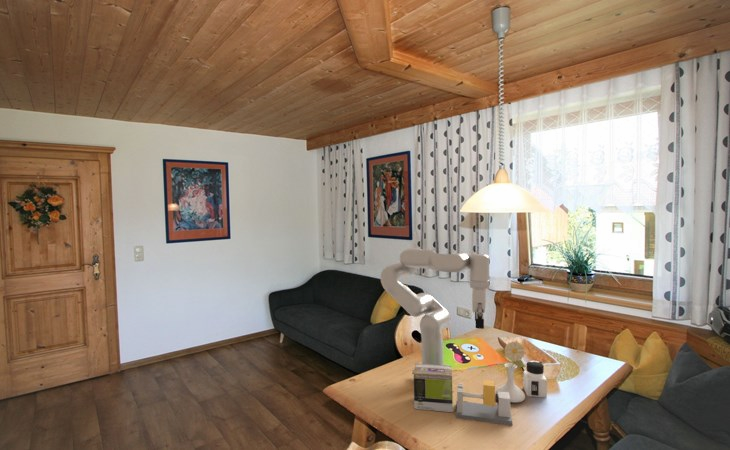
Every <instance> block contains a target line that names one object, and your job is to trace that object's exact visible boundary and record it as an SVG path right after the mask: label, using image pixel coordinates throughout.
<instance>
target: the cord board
mask: <svg viewBox="0 0 730 450" xmlns="http://www.w3.org/2000/svg"><path fill="white" fill-rule="evenodd" d="M463 387H464V383H463V382H457V389H456V390H457V391H456V394H457V395H456V396H457V397H456V402H455V419H462V420H469V421H476V422H484V423H492V424H497V425H498V424H499V425H506V426H513V418H512V414H511V402H510V396H509V392H500V391H498V394H496V393H495V406H490V405H484V403H477V402H472V401H471V402H470V401H464V398H465V397H466V398H474V399H479V400H480V399H482V400H483V399H484V394H483V393H476V392H475V393H474V392H466V391H464V388H463ZM496 404H497V405H496Z"/></svg>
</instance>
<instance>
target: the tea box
mask: <svg viewBox="0 0 730 450" xmlns="http://www.w3.org/2000/svg"><path fill="white" fill-rule="evenodd" d="M413 370H414V374H413V406H414V409H415V410H424V411H436V412H447V413H453V412H454V411H453V410H454V409H453V401H454V400H453V372H452V365H444V364H443V365H429V364H422V363H415V365H414V369H413Z"/></svg>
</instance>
